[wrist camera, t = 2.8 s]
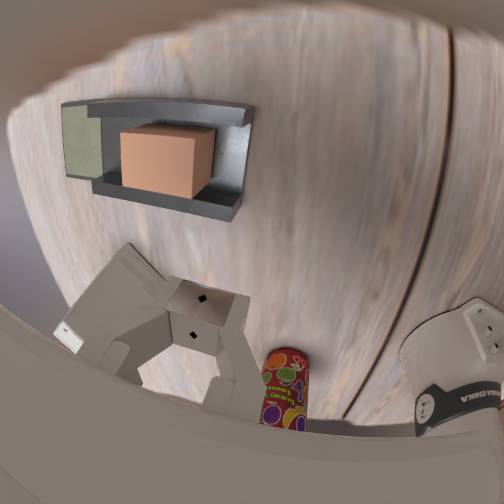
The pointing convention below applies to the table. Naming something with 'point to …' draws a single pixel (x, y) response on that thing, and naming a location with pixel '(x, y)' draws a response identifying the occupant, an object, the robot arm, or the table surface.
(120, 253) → the skincare box
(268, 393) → the smoothie
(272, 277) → the table surface
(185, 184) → the block
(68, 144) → the chute
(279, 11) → the table surface
